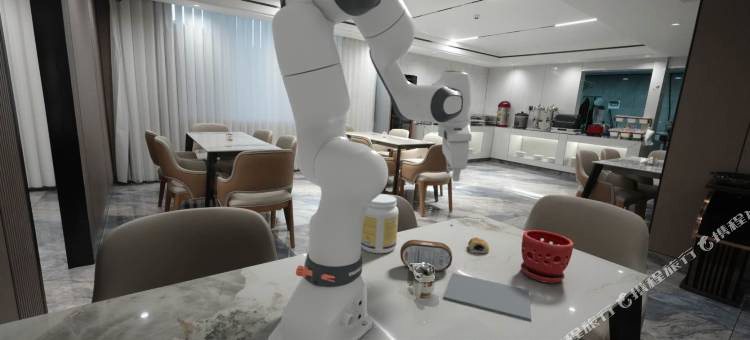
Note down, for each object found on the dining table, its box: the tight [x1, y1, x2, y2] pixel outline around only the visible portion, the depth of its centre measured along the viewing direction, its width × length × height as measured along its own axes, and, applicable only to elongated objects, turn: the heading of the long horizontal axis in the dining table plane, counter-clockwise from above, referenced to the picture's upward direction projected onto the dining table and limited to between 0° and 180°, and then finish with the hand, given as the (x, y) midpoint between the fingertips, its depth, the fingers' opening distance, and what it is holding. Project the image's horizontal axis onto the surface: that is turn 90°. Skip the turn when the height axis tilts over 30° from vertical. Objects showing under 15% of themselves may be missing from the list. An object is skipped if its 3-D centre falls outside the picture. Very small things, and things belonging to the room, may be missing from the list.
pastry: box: [467, 237, 490, 254], centre depth 118 cm, size 9×7×4 cm
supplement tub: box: [361, 193, 400, 254], centre depth 113 cm, size 12×12×17 cm
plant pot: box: [520, 229, 574, 284], centre depth 100 cm, size 13×13×12 cm
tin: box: [399, 239, 453, 273], centre depth 100 cm, size 15×3×8 cm, turn 84°
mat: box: [443, 272, 532, 322], centre depth 88 cm, size 14×20×1 cm
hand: (452, 175), depth 102 cm, fingers open, 8 cm apart
